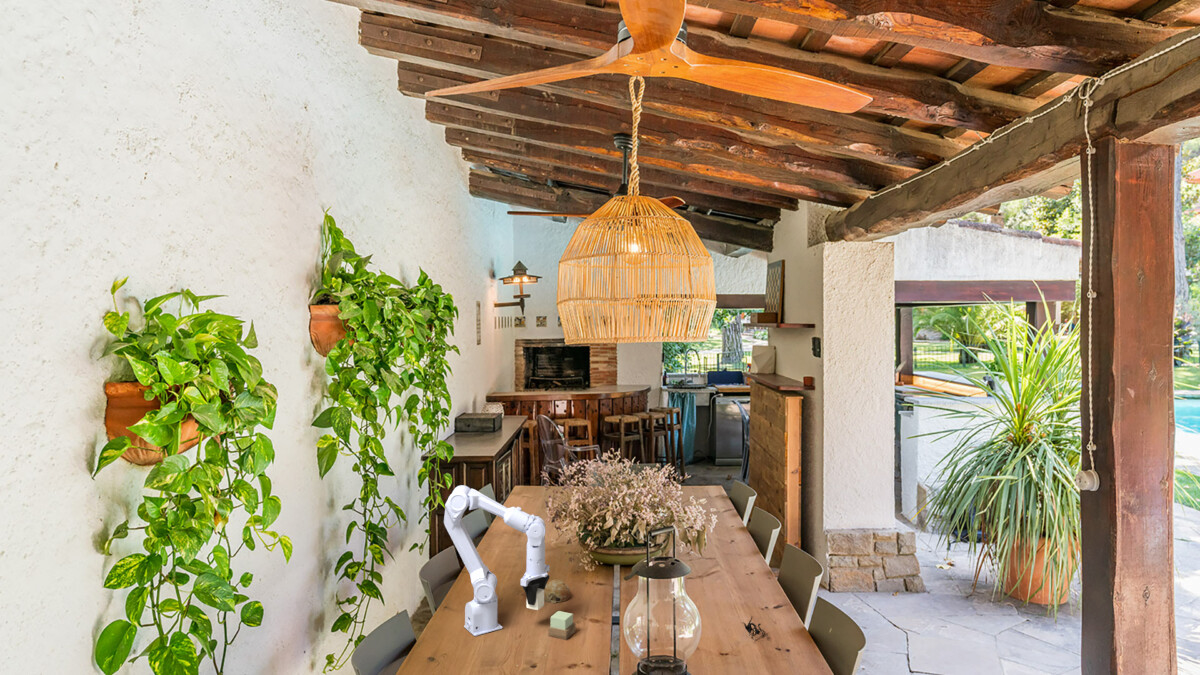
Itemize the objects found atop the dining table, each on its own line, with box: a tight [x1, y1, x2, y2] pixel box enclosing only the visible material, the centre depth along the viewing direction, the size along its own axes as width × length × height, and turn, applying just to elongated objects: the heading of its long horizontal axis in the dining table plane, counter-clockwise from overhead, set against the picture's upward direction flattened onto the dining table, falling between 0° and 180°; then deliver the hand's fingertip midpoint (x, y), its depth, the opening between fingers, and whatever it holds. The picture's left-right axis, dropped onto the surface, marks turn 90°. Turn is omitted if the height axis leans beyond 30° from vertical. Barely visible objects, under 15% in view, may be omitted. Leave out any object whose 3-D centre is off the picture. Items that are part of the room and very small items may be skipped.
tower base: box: [548, 622, 576, 641], centre depth 199 cm, size 6×6×3 cm
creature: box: [741, 616, 770, 640], centre depth 198 cm, size 8×5×8 cm
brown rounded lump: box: [544, 578, 571, 604], centre depth 227 cm, size 10×10×8 cm
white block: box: [525, 588, 545, 611], centre depth 204 cm, size 4×4×5 cm
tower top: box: [549, 610, 574, 630], centre depth 199 cm, size 5×5×3 cm
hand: (535, 601), depth 204 cm, fingers closed on white block, 4 cm apart
